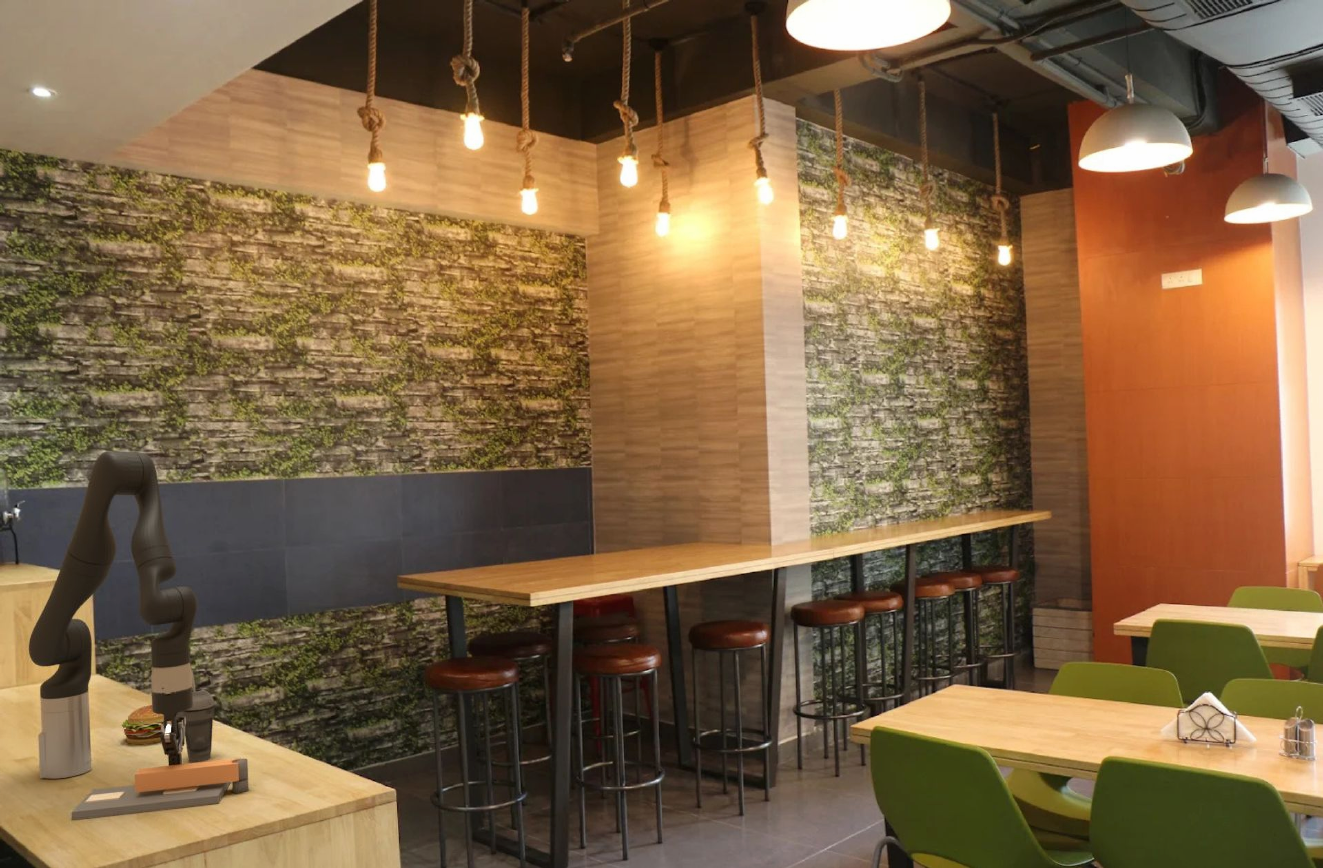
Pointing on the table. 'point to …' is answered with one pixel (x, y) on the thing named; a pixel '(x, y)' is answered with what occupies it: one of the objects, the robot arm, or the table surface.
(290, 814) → the table surface
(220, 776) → the swing bar
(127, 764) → the table surface
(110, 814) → the label board
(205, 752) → the beverage cup
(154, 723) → the food
